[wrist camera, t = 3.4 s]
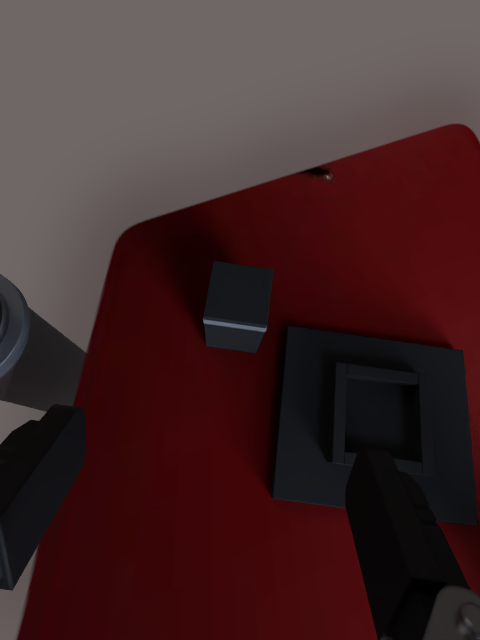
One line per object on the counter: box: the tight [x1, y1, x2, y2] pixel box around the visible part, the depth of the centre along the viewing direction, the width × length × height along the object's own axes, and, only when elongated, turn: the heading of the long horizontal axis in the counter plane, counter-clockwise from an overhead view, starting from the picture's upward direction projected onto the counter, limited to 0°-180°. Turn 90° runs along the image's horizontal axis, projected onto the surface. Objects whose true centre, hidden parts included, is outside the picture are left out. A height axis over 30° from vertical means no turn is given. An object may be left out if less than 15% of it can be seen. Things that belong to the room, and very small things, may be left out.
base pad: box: [271, 326, 478, 526], centre depth 32 cm, size 17×15×2 cm
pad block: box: [203, 261, 273, 353], centre depth 32 cm, size 5×5×8 cm
